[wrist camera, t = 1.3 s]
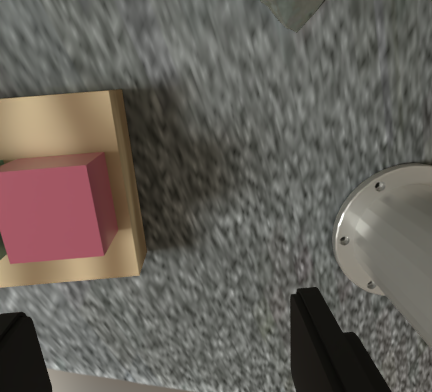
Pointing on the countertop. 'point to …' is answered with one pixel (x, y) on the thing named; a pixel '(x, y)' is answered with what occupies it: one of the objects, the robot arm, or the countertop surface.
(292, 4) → the stone
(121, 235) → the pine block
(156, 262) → the countertop surface
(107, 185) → the pink toy cube
